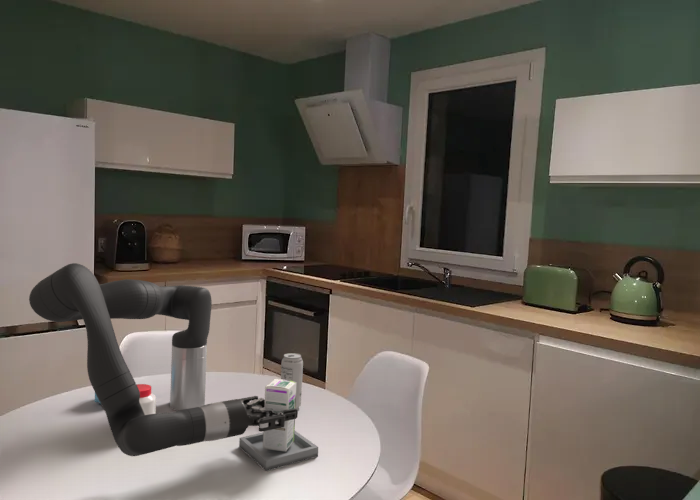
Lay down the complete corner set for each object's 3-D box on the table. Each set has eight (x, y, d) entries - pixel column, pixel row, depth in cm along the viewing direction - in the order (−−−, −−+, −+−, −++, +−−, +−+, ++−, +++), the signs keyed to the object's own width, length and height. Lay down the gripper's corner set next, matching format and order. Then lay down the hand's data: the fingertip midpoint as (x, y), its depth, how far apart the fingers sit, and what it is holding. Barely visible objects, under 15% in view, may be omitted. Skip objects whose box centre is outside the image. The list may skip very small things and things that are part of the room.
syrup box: (286, 452, 116) (290, 388, 115) (261, 448, 118) (265, 385, 117) (294, 441, 122) (297, 381, 121) (270, 438, 123) (273, 377, 122)
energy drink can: (304, 409, 146) (307, 357, 145) (285, 413, 143) (288, 359, 142) (294, 402, 151) (296, 351, 150) (275, 405, 148) (278, 353, 147)
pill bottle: (162, 430, 128) (163, 386, 127) (137, 441, 121) (138, 395, 120) (138, 423, 131) (140, 380, 131) (113, 434, 124) (114, 389, 124)
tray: (239, 446, 121) (239, 437, 121) (288, 434, 129) (289, 426, 129) (265, 471, 111) (266, 461, 111) (317, 456, 119) (318, 447, 119)
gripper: (235, 414, 105) (304, 401, 114) (208, 392, 116) (273, 382, 126) (233, 450, 105) (303, 434, 115) (207, 425, 117) (272, 412, 126)
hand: (287, 407), depth 120 cm, fingers closed on syrup box, 7 cm apart
